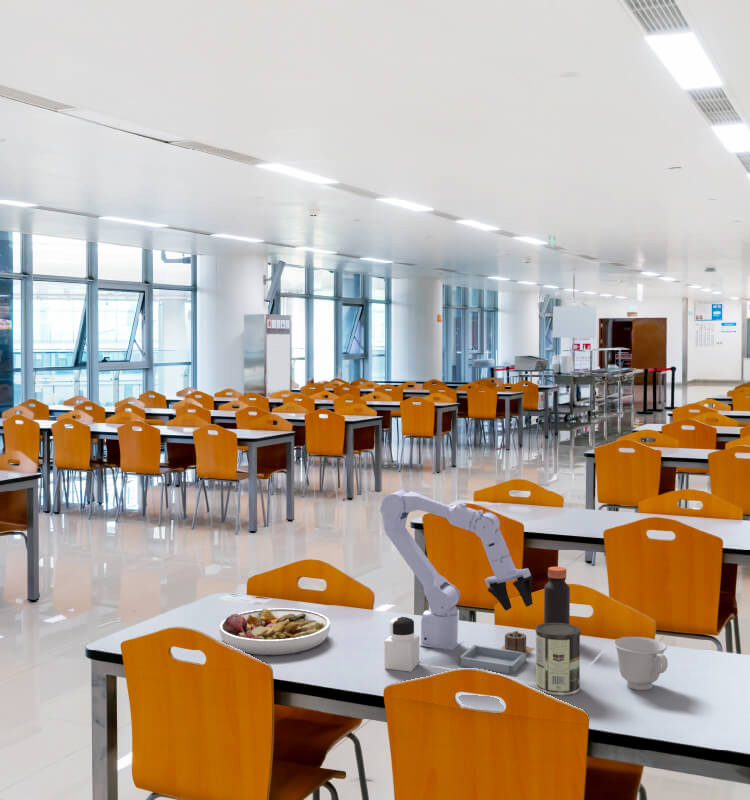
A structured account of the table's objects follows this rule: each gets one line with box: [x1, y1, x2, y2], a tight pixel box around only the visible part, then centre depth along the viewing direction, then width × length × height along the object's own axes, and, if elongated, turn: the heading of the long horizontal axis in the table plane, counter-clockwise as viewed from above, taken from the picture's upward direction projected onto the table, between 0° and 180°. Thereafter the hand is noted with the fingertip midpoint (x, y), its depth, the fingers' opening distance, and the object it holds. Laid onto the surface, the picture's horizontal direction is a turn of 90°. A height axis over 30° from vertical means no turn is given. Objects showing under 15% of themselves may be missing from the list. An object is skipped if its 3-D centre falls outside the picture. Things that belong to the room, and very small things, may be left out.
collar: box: [504, 631, 527, 652], centre depth 239 cm, size 5×5×4 cm
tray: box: [458, 644, 527, 675], centre depth 230 cm, size 14×11×2 cm
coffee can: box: [535, 622, 581, 696], centre depth 214 cm, size 10×10×14 cm
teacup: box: [613, 636, 668, 691], centre depth 213 cm, size 12×15×10 cm
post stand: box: [500, 630, 536, 657], centre depth 239 cm, size 8×8×6 cm
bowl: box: [219, 607, 331, 656], centre depth 250 cm, size 30×30×8 cm
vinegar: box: [543, 566, 571, 624], centre depth 248 cm, size 7×7×20 cm
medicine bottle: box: [383, 616, 420, 673], centre depth 229 cm, size 7×7×12 cm
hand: (518, 607), depth 238 cm, fingers open, 7 cm apart
